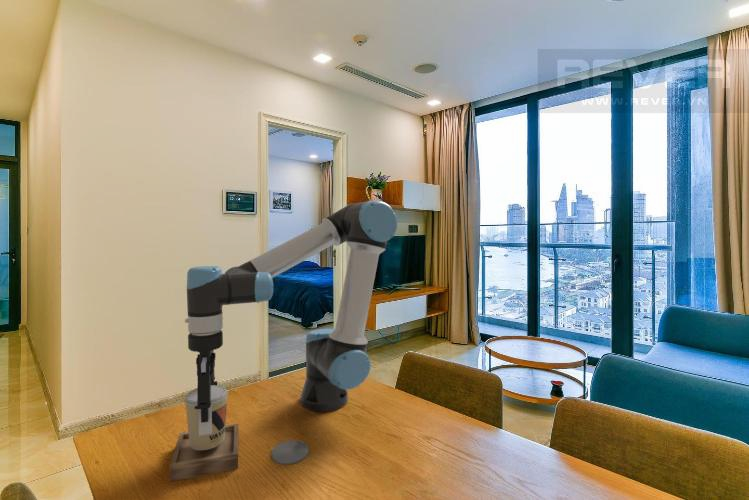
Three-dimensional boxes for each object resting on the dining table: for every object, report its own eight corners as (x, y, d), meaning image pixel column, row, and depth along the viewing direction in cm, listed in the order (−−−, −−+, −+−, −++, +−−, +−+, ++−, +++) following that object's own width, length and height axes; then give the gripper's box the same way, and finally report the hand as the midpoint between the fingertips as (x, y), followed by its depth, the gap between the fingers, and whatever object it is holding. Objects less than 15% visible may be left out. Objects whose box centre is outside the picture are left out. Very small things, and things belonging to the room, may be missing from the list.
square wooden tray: (238, 436, 98) (238, 423, 98) (238, 468, 85) (237, 453, 85) (180, 446, 94) (179, 433, 93) (169, 482, 80) (169, 466, 80)
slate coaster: (305, 440, 97) (305, 437, 97) (311, 460, 88) (311, 457, 88) (269, 446, 94) (269, 444, 94) (272, 468, 85) (272, 465, 85)
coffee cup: (212, 455, 84) (211, 403, 83) (176, 449, 86) (175, 399, 85) (235, 432, 93) (235, 386, 92) (203, 428, 95) (202, 383, 94)
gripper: (193, 321, 97) (195, 404, 98) (180, 346, 76) (183, 451, 77) (224, 319, 99) (226, 400, 101) (220, 343, 79) (221, 445, 80)
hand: (207, 422), depth 89 cm, fingers closed on coffee cup, 9 cm apart
